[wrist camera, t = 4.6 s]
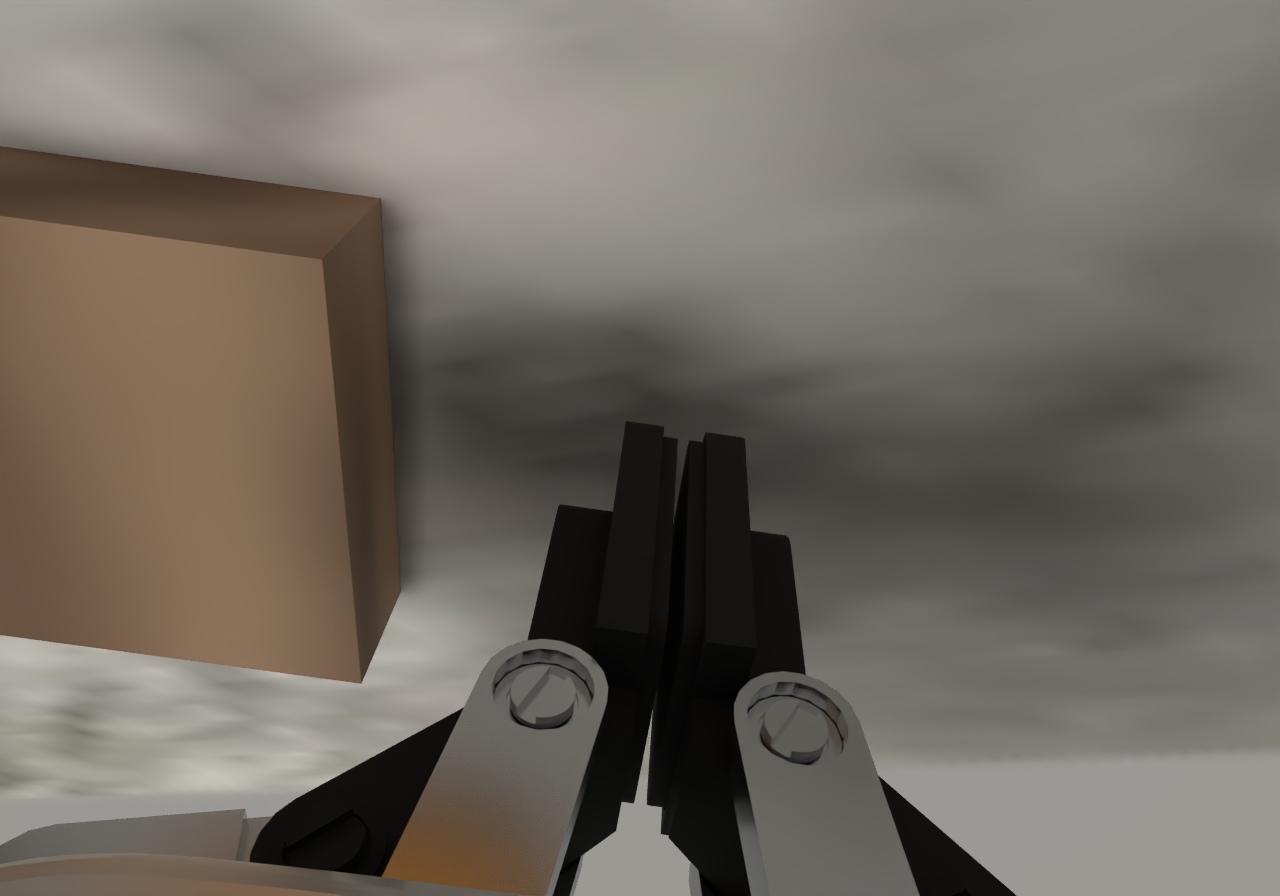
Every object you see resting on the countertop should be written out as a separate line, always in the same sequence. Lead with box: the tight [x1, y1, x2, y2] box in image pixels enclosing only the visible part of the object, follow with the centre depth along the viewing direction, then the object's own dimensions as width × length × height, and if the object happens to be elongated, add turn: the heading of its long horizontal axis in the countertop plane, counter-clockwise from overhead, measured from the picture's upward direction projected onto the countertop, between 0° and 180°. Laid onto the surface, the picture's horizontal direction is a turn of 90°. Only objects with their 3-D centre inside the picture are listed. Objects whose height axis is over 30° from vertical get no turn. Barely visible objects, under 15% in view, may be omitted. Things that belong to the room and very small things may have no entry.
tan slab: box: [0, 146, 401, 683], centre depth 13 cm, size 9×7×2 cm
